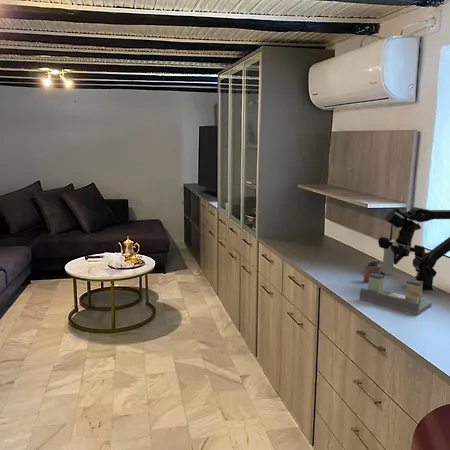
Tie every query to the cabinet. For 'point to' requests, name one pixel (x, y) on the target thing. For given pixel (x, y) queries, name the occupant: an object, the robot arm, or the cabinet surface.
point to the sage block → (376, 282)
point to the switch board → (394, 301)
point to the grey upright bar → (388, 258)
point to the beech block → (414, 290)
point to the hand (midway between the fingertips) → (394, 264)
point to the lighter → (371, 269)
